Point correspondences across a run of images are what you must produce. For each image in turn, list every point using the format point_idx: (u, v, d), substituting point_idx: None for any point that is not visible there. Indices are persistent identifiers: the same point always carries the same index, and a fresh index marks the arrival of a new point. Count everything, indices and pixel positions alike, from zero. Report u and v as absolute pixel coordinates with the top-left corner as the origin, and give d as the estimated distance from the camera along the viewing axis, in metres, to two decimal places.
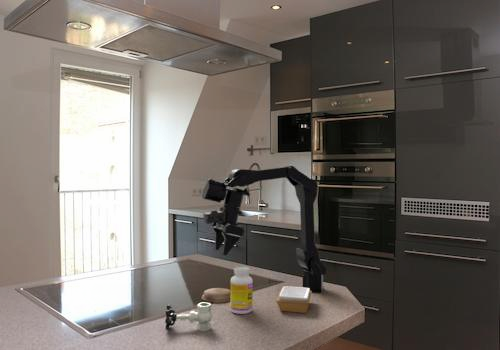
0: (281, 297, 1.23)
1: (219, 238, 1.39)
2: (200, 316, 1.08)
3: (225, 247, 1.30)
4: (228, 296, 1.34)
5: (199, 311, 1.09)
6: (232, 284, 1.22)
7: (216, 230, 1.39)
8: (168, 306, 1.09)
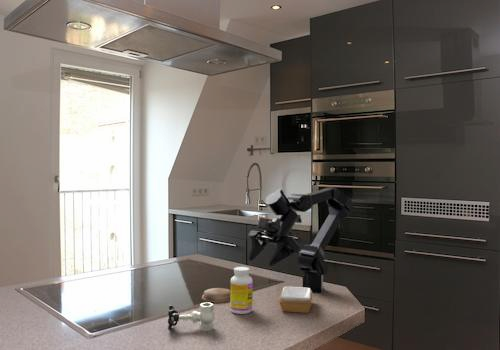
0: (283, 297, 1.23)
1: (255, 251, 1.34)
2: (203, 316, 1.08)
3: (275, 257, 1.26)
4: (228, 296, 1.34)
5: (202, 311, 1.09)
6: (232, 284, 1.22)
7: (256, 241, 1.35)
8: (170, 306, 1.09)
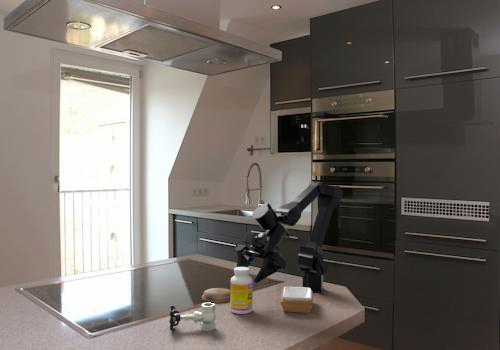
0: (285, 298, 1.23)
1: (241, 266, 1.30)
2: (204, 316, 1.08)
3: (261, 274, 1.22)
4: (228, 296, 1.34)
5: (203, 311, 1.09)
6: (232, 284, 1.22)
7: (242, 256, 1.31)
8: (172, 306, 1.09)
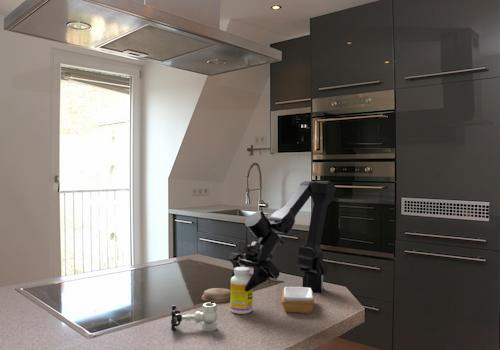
0: (286, 298, 1.23)
1: None
2: (206, 316, 1.08)
3: (251, 282, 1.21)
4: (228, 296, 1.34)
5: (205, 311, 1.09)
6: (232, 284, 1.22)
7: (238, 265, 1.28)
8: (173, 306, 1.08)
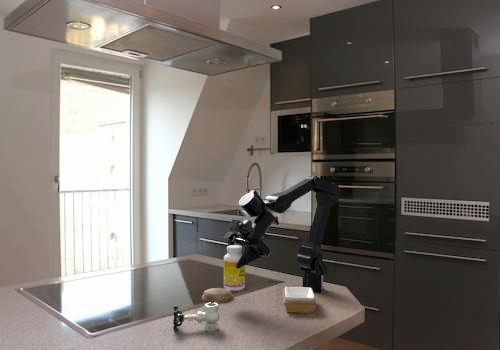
0: (288, 298, 1.22)
1: None
2: (208, 316, 1.08)
3: (242, 260, 1.23)
4: (228, 296, 1.34)
5: (207, 311, 1.09)
6: (224, 261, 1.25)
7: (232, 244, 1.31)
8: (175, 307, 1.08)
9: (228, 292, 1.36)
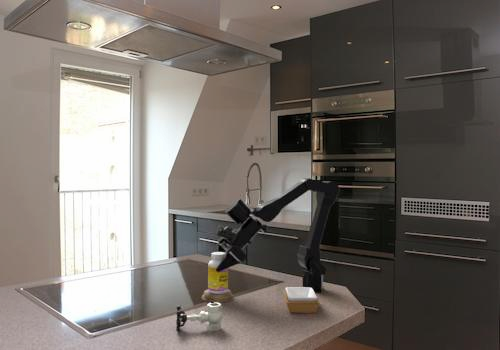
0: (291, 298, 1.22)
1: None
2: (211, 316, 1.08)
3: (221, 264, 1.31)
4: (228, 296, 1.34)
5: (210, 311, 1.09)
6: (208, 266, 1.36)
7: (220, 247, 1.42)
8: (178, 307, 1.08)
9: (228, 292, 1.36)
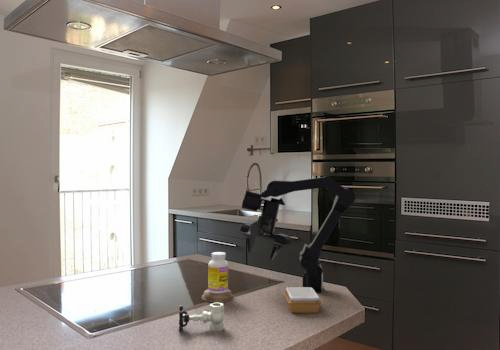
0: (293, 299, 1.22)
1: (251, 243, 1.51)
2: (213, 316, 1.08)
3: (274, 254, 1.45)
4: (228, 296, 1.34)
5: (212, 311, 1.09)
6: (208, 266, 1.36)
7: (249, 236, 1.49)
8: (181, 307, 1.08)
9: (228, 292, 1.36)
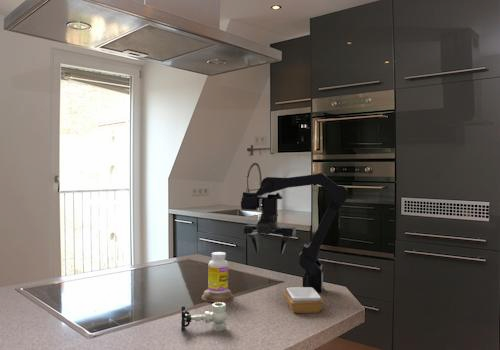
0: (295, 299, 1.22)
1: (257, 242, 1.52)
2: (215, 316, 1.08)
3: (283, 247, 1.48)
4: (228, 296, 1.34)
5: (214, 311, 1.09)
6: (208, 266, 1.36)
7: (254, 236, 1.50)
8: (183, 307, 1.08)
9: (228, 292, 1.36)
